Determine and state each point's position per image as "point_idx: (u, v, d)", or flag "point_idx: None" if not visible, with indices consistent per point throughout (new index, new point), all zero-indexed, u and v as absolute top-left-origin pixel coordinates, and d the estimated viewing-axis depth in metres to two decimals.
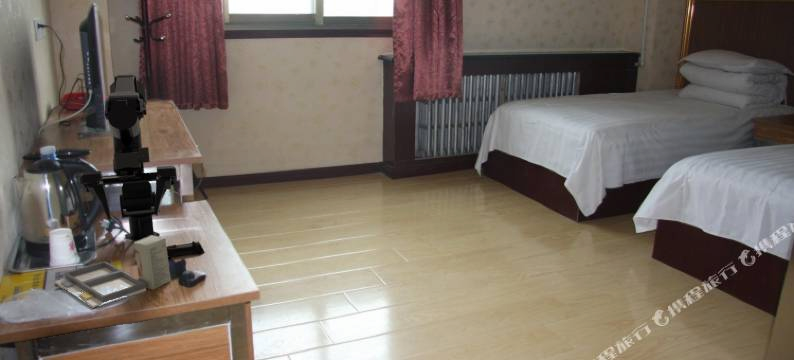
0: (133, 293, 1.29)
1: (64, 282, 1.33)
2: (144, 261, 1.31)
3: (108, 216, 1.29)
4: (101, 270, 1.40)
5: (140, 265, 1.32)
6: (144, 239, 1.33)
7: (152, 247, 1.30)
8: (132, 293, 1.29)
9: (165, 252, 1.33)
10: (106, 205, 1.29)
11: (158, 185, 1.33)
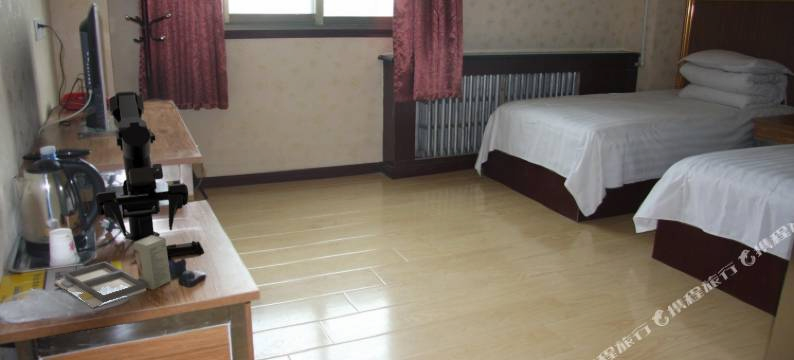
0: (133, 293, 1.29)
1: (64, 282, 1.33)
2: (144, 261, 1.31)
3: (124, 232, 1.33)
4: (101, 270, 1.40)
5: (140, 265, 1.32)
6: (144, 239, 1.33)
7: (152, 248, 1.30)
8: (132, 293, 1.29)
9: (165, 252, 1.33)
10: (122, 222, 1.33)
11: (171, 200, 1.38)
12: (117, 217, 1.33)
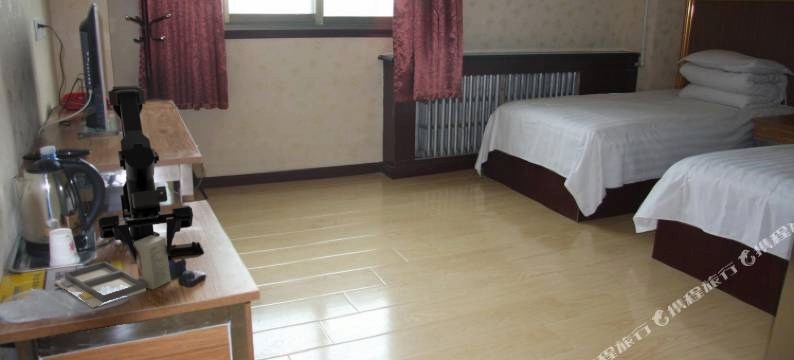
0: (133, 293, 1.29)
1: (64, 282, 1.33)
2: (144, 261, 1.31)
3: (134, 256, 1.30)
4: (101, 270, 1.40)
5: (140, 265, 1.32)
6: (144, 239, 1.33)
7: (152, 247, 1.30)
8: (132, 293, 1.29)
9: (165, 252, 1.33)
10: (132, 245, 1.31)
11: (169, 224, 1.34)
12: (127, 240, 1.31)
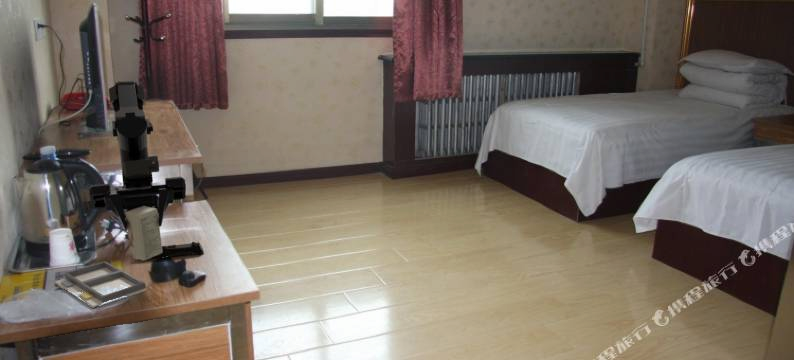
0: (133, 293, 1.29)
1: (64, 282, 1.33)
2: (135, 231, 1.28)
3: (125, 226, 1.28)
4: (101, 270, 1.40)
5: (131, 236, 1.30)
6: (136, 209, 1.30)
7: (143, 218, 1.28)
8: (132, 293, 1.29)
9: (157, 223, 1.31)
10: (123, 215, 1.28)
11: (161, 195, 1.32)
12: (118, 210, 1.28)
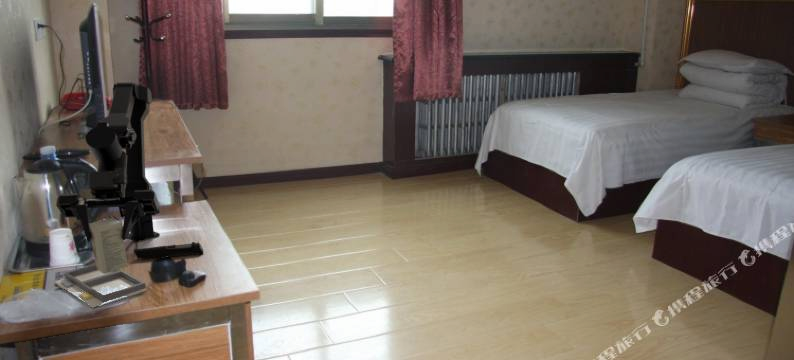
0: (133, 293, 1.29)
1: (64, 282, 1.33)
2: (96, 244, 1.26)
3: (87, 237, 1.26)
4: None
5: (94, 248, 1.27)
6: (101, 221, 1.28)
7: (104, 231, 1.25)
8: (132, 293, 1.29)
9: (121, 236, 1.28)
10: (87, 226, 1.27)
11: (127, 208, 1.29)
12: (83, 221, 1.27)
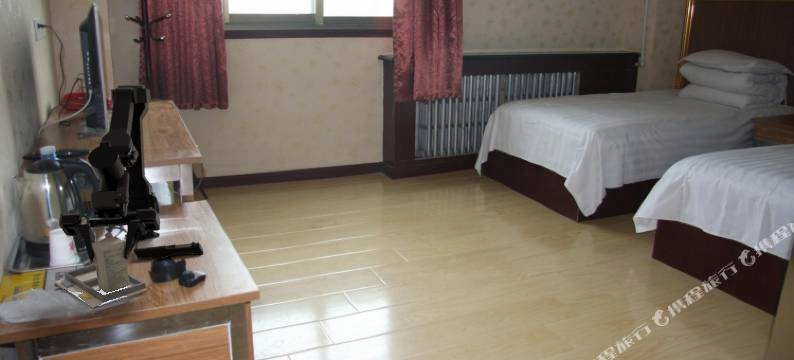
0: (133, 293, 1.29)
1: (64, 282, 1.33)
2: (99, 263, 1.27)
3: (90, 257, 1.27)
4: None
5: (97, 267, 1.29)
6: (103, 240, 1.29)
7: (107, 250, 1.26)
8: (132, 293, 1.29)
9: (123, 256, 1.29)
10: (89, 246, 1.28)
11: (129, 227, 1.30)
12: (85, 241, 1.28)
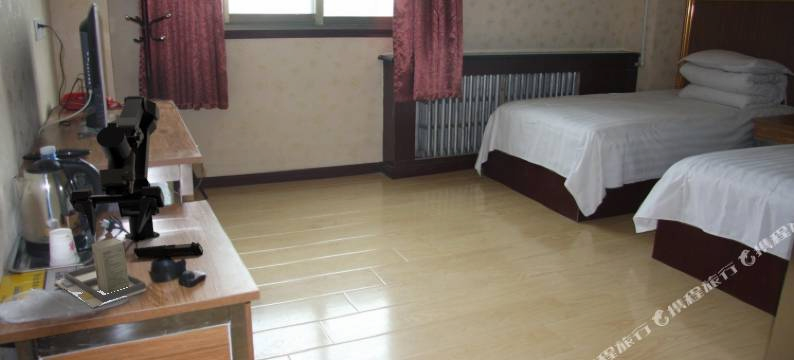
0: (133, 293, 1.29)
1: (64, 282, 1.33)
2: (98, 264, 1.27)
3: (92, 231, 1.34)
4: None
5: (96, 268, 1.29)
6: (103, 241, 1.29)
7: (106, 251, 1.26)
8: (132, 293, 1.29)
9: (122, 256, 1.29)
10: (91, 221, 1.35)
11: (142, 203, 1.38)
12: (87, 216, 1.35)
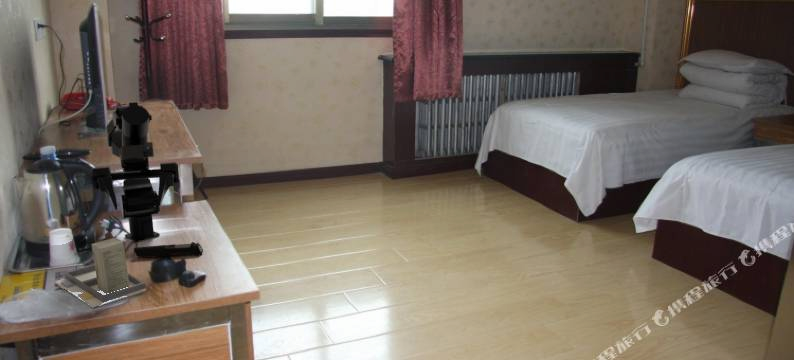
0: (133, 293, 1.29)
1: (64, 282, 1.33)
2: (98, 264, 1.27)
3: (115, 205, 1.41)
4: None
5: (96, 268, 1.29)
6: (103, 241, 1.29)
7: (106, 251, 1.26)
8: (132, 293, 1.29)
9: (122, 257, 1.29)
10: (113, 196, 1.41)
11: (161, 178, 1.45)
12: (109, 191, 1.41)
